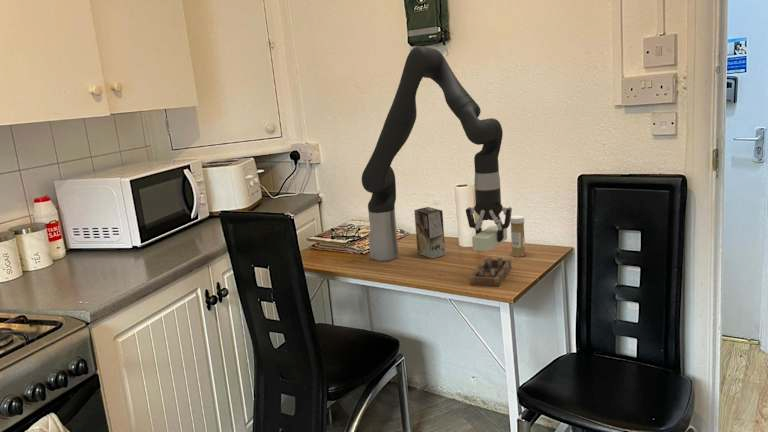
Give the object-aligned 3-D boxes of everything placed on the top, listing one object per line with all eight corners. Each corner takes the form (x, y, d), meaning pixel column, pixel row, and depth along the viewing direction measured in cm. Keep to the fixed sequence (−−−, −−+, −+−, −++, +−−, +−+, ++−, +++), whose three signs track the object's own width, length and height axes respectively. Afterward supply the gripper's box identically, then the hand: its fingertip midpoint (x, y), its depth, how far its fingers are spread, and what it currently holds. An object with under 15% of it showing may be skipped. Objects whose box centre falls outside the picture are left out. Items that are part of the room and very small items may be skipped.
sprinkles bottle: (528, 255, 208) (527, 216, 205) (518, 258, 206) (517, 218, 203) (518, 252, 212) (517, 214, 209) (508, 255, 210) (507, 216, 207)
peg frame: (498, 286, 181) (498, 273, 180) (470, 284, 185) (469, 272, 184) (511, 267, 197) (510, 255, 196) (484, 266, 201) (484, 254, 200)
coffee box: (446, 255, 216) (443, 210, 212) (431, 259, 213) (428, 213, 209) (431, 249, 224) (428, 206, 220) (416, 253, 221) (413, 209, 217)
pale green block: (492, 237, 196) (491, 225, 195) (507, 238, 193) (506, 226, 192) (472, 250, 185) (472, 237, 184) (488, 251, 182) (487, 238, 181)
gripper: (514, 184, 185) (516, 238, 189) (467, 184, 191) (470, 237, 195) (508, 189, 179) (511, 245, 182) (460, 189, 184) (463, 243, 188)
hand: (490, 240), depth 189 cm, fingers closed on pale green block, 5 cm apart
